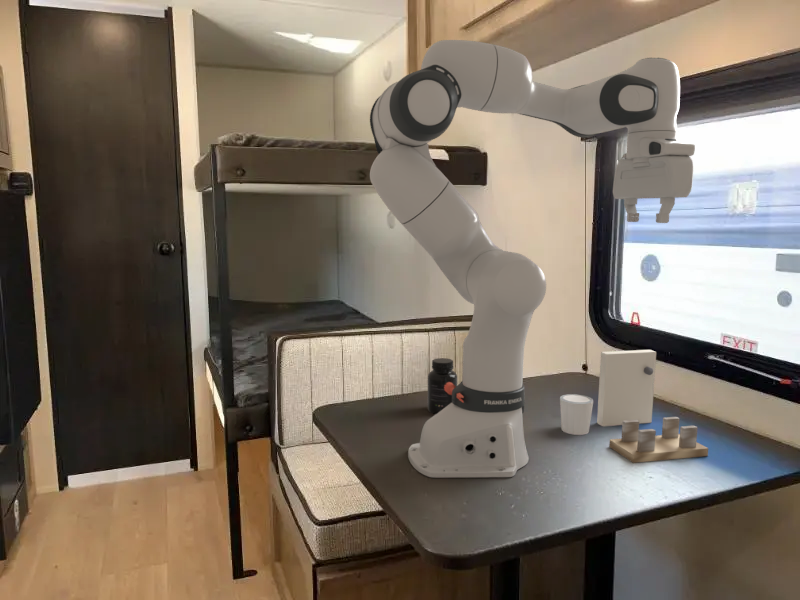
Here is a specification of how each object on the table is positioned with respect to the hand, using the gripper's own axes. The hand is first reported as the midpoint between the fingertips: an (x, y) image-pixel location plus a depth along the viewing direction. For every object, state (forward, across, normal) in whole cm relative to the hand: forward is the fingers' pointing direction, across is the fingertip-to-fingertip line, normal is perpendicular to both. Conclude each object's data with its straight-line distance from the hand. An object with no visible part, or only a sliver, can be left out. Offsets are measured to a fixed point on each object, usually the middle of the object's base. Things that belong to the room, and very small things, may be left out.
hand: (646, 222), depth 119 cm
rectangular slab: (+44, -10, +4) cm, 45 cm away
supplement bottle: (+44, -25, -33) cm, 61 cm away
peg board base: (+44, +6, +1) cm, 44 cm away
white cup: (+44, -7, -9) cm, 46 cm away
